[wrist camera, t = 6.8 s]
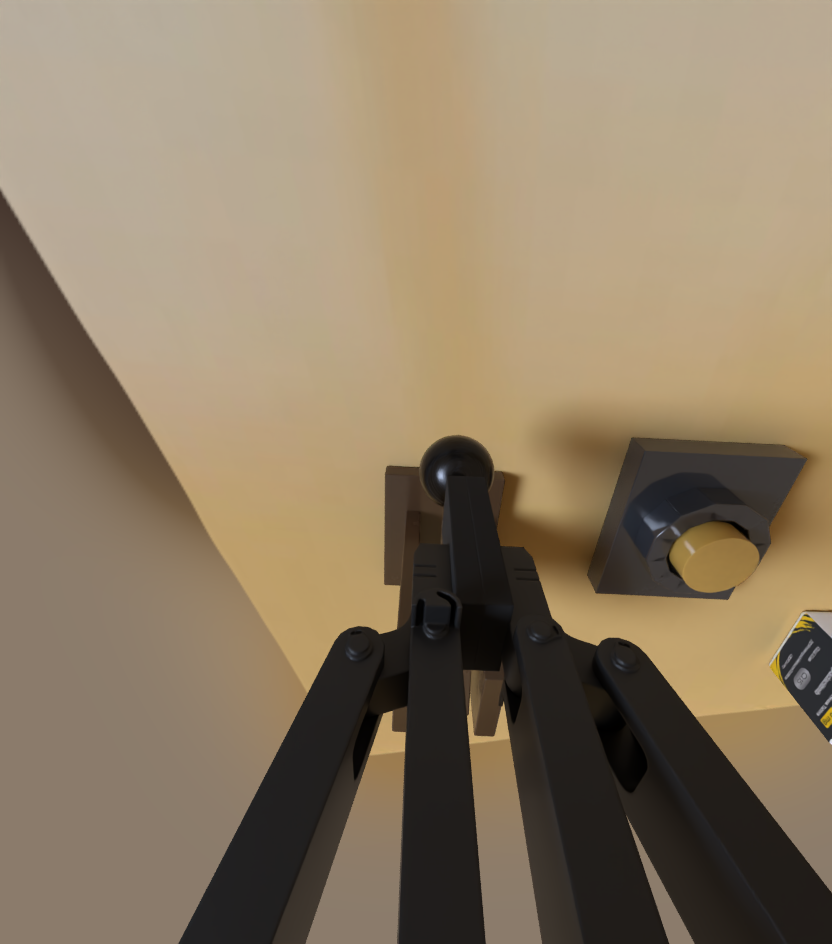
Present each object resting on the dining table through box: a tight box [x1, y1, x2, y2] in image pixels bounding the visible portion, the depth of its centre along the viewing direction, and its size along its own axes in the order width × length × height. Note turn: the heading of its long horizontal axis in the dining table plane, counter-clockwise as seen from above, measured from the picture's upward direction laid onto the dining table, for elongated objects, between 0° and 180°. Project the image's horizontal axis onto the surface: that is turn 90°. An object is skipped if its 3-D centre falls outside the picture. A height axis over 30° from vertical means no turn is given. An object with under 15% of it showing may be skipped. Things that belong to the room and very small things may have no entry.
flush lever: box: [419, 435, 494, 715], centre depth 21 cm, size 13×4×4 cm, turn 178°
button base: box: [587, 438, 807, 600], centre depth 29 cm, size 12×10×4 cm
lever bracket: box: [384, 466, 505, 736], centre depth 25 cm, size 10×8×14 cm
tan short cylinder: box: [669, 521, 759, 593], centre depth 27 cm, size 4×4×2 cm
